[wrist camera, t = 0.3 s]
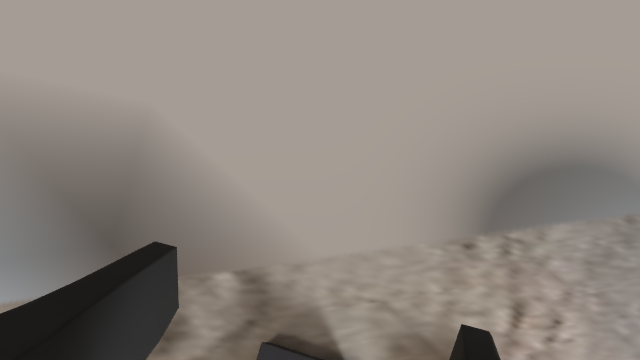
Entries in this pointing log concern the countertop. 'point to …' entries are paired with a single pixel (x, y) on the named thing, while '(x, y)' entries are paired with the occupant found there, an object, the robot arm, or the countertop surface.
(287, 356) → the tab pad
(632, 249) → the countertop surface
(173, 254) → the robot arm
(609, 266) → the countertop surface
